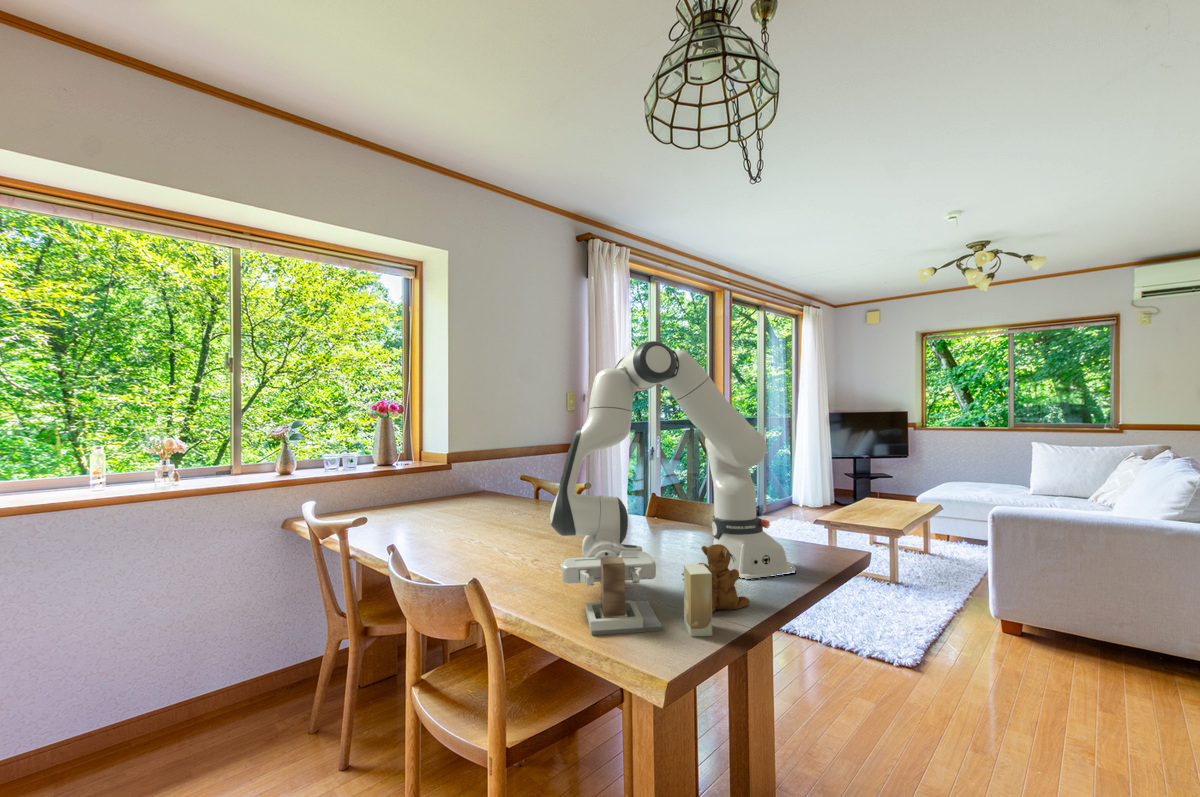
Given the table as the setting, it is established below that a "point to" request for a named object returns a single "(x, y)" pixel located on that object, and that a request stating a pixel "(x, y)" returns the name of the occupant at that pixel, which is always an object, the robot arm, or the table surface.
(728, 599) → the stuffed squirrel
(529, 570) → the table surface
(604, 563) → the walnut box
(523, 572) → the table surface
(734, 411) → the robot arm
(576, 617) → the table surface
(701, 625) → the skincare box
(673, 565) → the table surface
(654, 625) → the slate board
